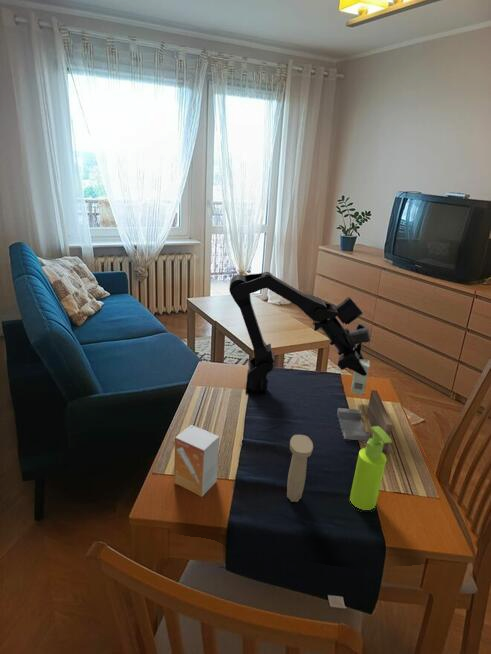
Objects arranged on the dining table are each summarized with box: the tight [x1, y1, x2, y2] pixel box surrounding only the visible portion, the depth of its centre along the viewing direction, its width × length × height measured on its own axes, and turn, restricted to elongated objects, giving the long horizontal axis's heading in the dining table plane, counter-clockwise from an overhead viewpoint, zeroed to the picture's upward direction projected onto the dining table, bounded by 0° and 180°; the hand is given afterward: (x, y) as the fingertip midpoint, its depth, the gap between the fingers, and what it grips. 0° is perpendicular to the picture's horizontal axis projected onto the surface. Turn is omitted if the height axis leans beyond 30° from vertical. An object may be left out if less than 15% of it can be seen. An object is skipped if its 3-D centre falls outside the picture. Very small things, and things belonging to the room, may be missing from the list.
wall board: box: [366, 389, 394, 454], centre depth 126 cm, size 3×18×9 cm, turn 178°
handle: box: [286, 434, 314, 503], centre depth 98 cm, size 5×6×15 cm
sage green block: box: [350, 359, 371, 396], centre depth 140 cm, size 4×6×10 cm
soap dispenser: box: [349, 426, 393, 510], centre depth 97 cm, size 6×7×20 cm
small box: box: [173, 424, 220, 498], centre depth 101 cm, size 8×6×13 cm
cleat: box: [336, 407, 371, 443], centre depth 129 cm, size 7×14×2 cm, turn 178°
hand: (365, 371), depth 139 cm, fingers closed on sage green block, 5 cm apart
